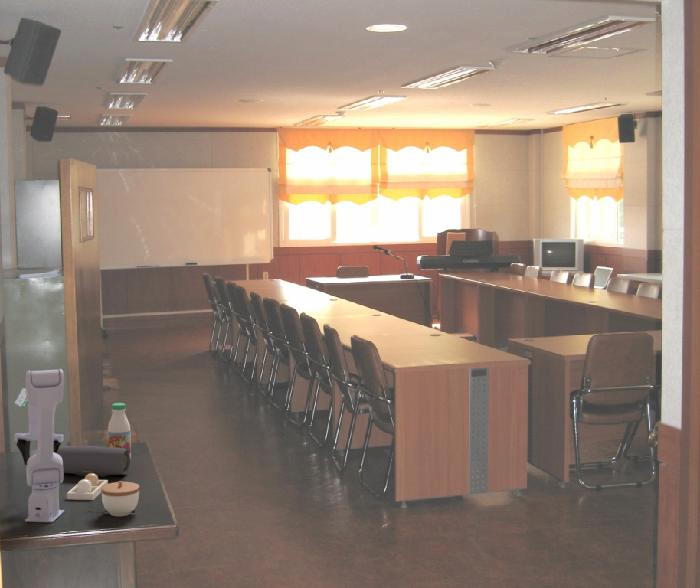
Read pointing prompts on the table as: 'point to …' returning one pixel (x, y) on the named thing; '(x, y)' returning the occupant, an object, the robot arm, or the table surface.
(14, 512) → the table surface
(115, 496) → the lidded jar
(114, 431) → the milk bottle
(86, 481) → the white egg
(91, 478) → the brown egg
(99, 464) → the bluetooth speaker
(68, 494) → the white divided tray
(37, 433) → the robot arm
